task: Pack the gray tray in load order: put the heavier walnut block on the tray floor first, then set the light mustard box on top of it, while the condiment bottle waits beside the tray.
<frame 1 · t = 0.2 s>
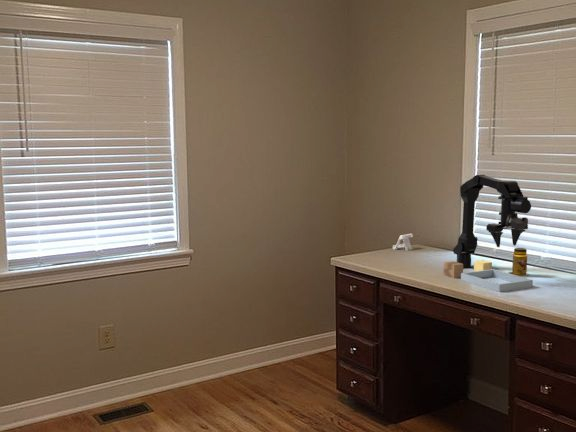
hand: (506, 246, 282), 14 cm above the table, tool pointing down, fingers open, 9 cm apart
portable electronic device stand: (403, 249, 354), on the table
gray tray: (495, 283, 277), on the table
mustard box: (482, 272, 298), on the table
condiment: (517, 275, 292), on the table
walnut block: (453, 276, 291), on the table
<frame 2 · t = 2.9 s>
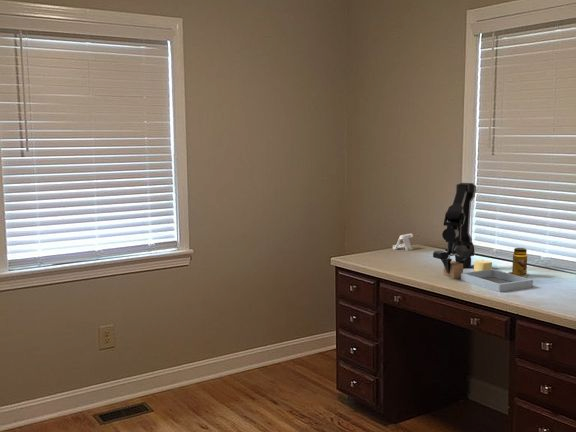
hand: (453, 272, 290), 2 cm above the table, tool pointing down, fingers closed on walnut block, 5 cm apart
walnut block: (453, 276, 290), on the table, touching gripper
everything else where it was.
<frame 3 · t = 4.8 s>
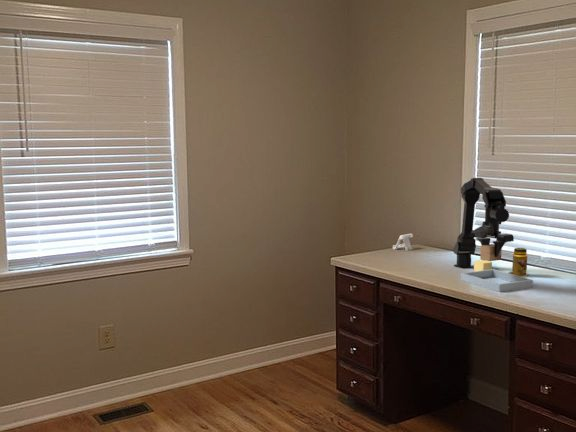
hand: (491, 256, 276), 12 cm above the table, tool pointing down, fingers closed on walnut block, 5 cm apart
walnut block: (490, 259, 276), point 10 cm above the table, touching gripper
everything else where it was.
when the fingers open (3 cm above the table, at t = 6.9 s): walnut block drops 2 cm, resting in gray tray.
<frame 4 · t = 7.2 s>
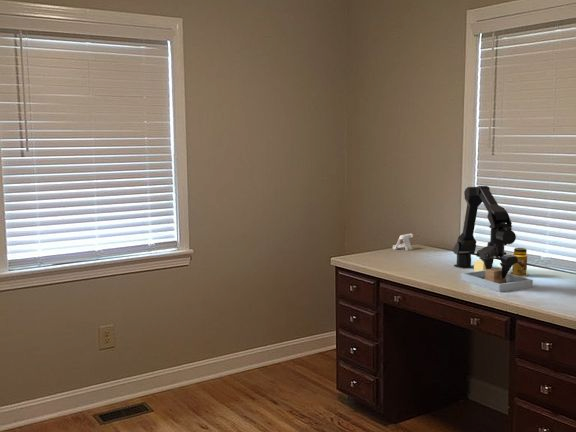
hand: (496, 276, 276), 3 cm above the table, tool pointing down, fingers open, 8 cm apart
walnut block: (495, 283, 277), resting in gray tray
everything else where it was.
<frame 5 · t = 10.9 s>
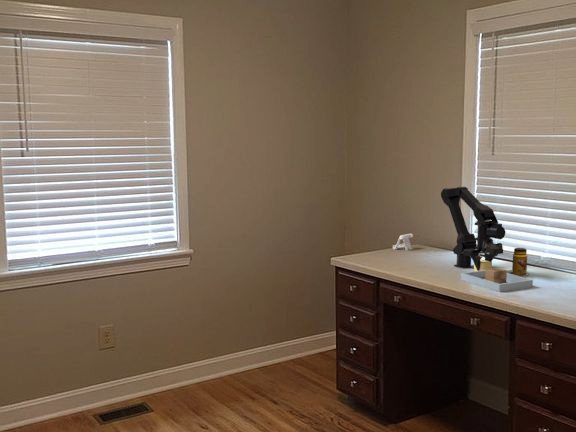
hand: (482, 269, 298), 1 cm above the table, tool pointing down, fingers closed on mustard box, 5 cm apart
mustard box: (482, 272, 298), on the table, touching gripper
everything else where it was.
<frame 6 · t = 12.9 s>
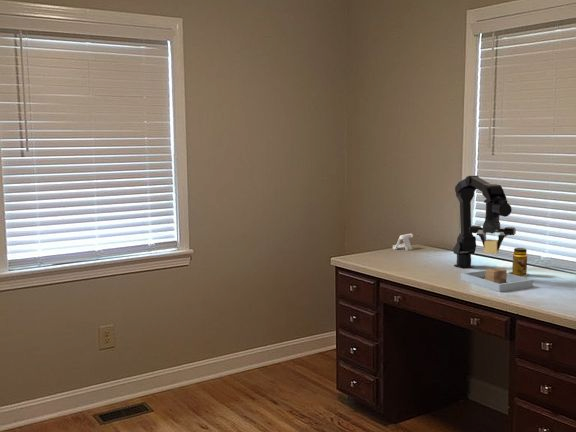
hand: (491, 249, 284), 13 cm above the table, tool pointing down, fingers closed on mustard box, 5 cm apart
mustard box: (491, 252, 284), point 12 cm above the table, touching gripper
everything else where it was.
when the fingers open (8 cm above the table, at t = 14.8 s): mustard box drops 1 cm, resting on walnut block.
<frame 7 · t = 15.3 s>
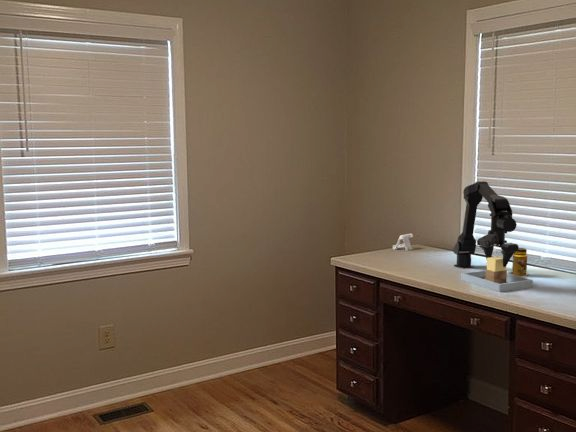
hand: (496, 264, 275), 8 cm above the table, tool pointing down, fingers open, 9 cm apart
mustard box: (496, 269, 276), point 6 cm above the table, touching walnut block
walnut block: (495, 283, 277), resting in gray tray, touching mustard box
everything else where it was.
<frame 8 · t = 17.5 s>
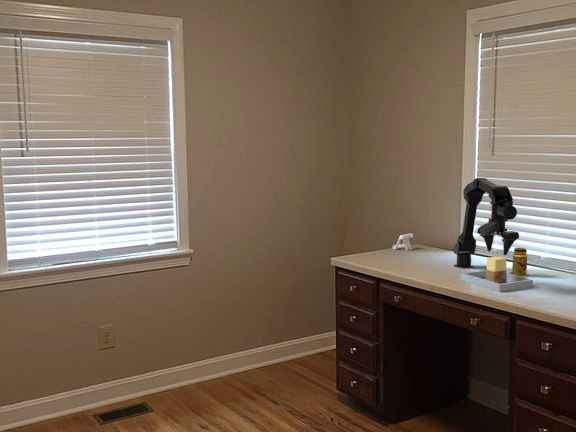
hand: (497, 253, 275), 13 cm above the table, tool pointing down, fingers open, 9 cm apart
mustard box: (496, 269, 276), point 6 cm above the table
walnut block: (495, 283, 277), resting in gray tray
everything else where it was.
at the end: walnut block inside the target area on the gray tray (0.0 cm from its centre), point 0.0 cm above the gray tray's base; mustard box 0.1 cm off-centre on the walnut block, point 6.0 cm above the walnut block's base; mustard box tilted 0° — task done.
